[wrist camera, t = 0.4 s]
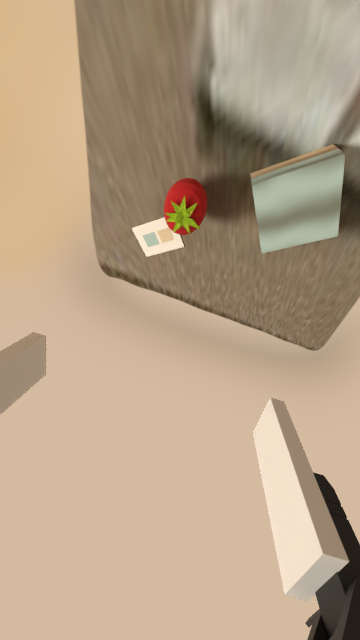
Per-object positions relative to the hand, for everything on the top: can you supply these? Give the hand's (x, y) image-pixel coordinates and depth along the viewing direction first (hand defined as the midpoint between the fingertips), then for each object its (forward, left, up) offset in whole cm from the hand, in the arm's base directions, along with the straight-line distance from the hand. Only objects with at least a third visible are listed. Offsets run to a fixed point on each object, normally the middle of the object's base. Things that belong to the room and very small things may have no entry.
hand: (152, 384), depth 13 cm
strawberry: (0, -2, -33) cm, 33 cm away
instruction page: (+5, -10, -33) cm, 34 cm away
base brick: (+5, +12, -33) cm, 35 cm away
